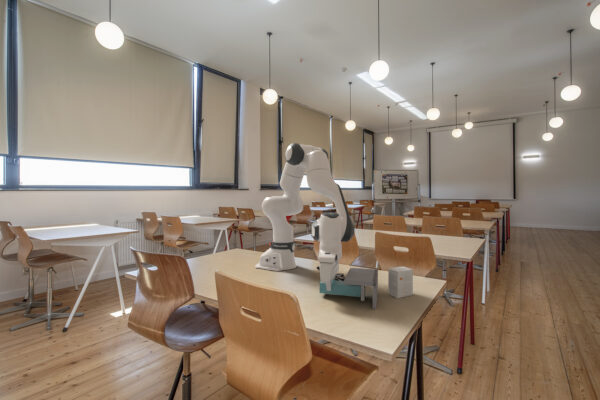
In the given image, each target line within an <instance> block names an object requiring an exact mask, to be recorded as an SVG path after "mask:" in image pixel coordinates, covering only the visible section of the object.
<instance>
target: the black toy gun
mask: <svg viewBox="0 0 600 400" xmlns="http://www.w3.org/2000/svg"><path fill="white" fill-rule="evenodd" d="M316 270H318V271H320V265H317V266H316ZM345 277H346V276H345V274H344V273H338V272H337V273H336V275H335V280H337V281H344V279H345Z"/></svg>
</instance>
